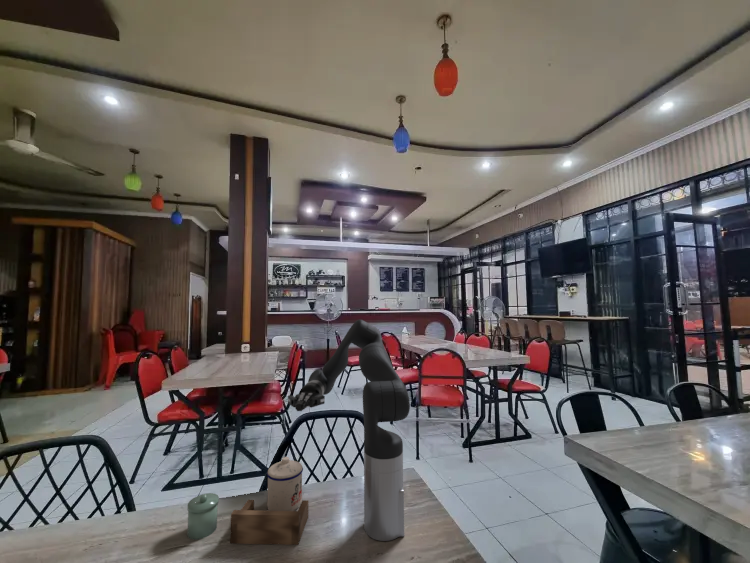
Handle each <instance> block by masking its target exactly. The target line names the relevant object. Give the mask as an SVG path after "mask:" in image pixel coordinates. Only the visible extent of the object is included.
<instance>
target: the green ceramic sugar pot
mask: <svg viewBox="0 0 750 563" xmlns="http://www.w3.org/2000/svg"><path fill="white" fill-rule="evenodd" d="M219 500H220V496H219V495H218V494H216V493H212V492H209V493H202V494H200V495H197V496H195V497H193V498H191V499H190V500H189V501H188V503H187V511H188V512H187V534H186V535H187V538H189V539H190V540H201V539H205V538H208V537H209V536H210V535H212V534H213V533H214V532H215V531H216V530H217V528H218V527H217V526H218V525H217V524H218V504H219V502H220V501H219ZM195 502H196V503H195Z"/></svg>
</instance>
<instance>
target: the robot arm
mask: <svg viewBox="0 0 750 563" xmlns="http://www.w3.org/2000/svg"><path fill="white" fill-rule="evenodd" d="M351 344H353V345H354V346H356V347H357V348H360V349H361V350H360V352H359V355H358V363H359V364H358V365H359V368H360V371H361V373H362V375H363V377H364V378H365V379H367V382H366V383H365V384H364V386H363V390H362V412H363V528H364V531H365V534H366V535H367V536H369V538H372V540H376V541H379V542H389V541H393V540H395V539H397V538H399V537H405V493H404V492H405V490H404V448H403V447H404V442H403V439H402V437H401V436H400V435H399V434H397V433H396V432H393V431H391V430H387V429H385V428H383V427H380V426H379V425H378V424H379V423H387V422H388V423H389V422H390V423H391V422H392V423H393V422H400V421H403V420H405V419H406V418H407V417H408V416H409V414H410V411H411V410H410V409H411V402H410V396H409V393H408V390H407V387H406V385H405V384H404V381H402V379H401V377H400V376H399V375H398V373H397V372H396V370H395V369H394V366H393V364H392V362H391V358H390V357H389V354H388V351H387V350H386V348H385V345H384V342H383V339H382V334H381V331H380V330H379V329H378V328H377V327H375V326H373V325H372V324H370V323H368V322H367V321H365V320H363V319H357V320H355V321H354V323H353V324H352V325H351V326H350V328H349V329H348V331H347V332H346V334H345V336H344V337H343V338H342V340H341V342H340V344H339V345H338V347H337V349H336V350H335V352H334V353H333V355H332V356H331V357H330V359H328V360H327V362H326V363H325V364H324V365H323V367H322V370H321V369H316V370H315V369H314V370H313V371H312V373H311V374H310V376H309V377H308V382H307V383H306V384H304V385H303V387H301V389H300V390H299V392H298V393H297V394H295V395H291V394H289V395H287V404H288V405H289V406H291V407H293V408H295V410H296V412H302V411H304V410H305V409H307V408H311V409H312V408H315V407H318V406H321V405H325V397H326V395H328V394H329V393H331V391H332V390H333V388H334V386H335V383H336V381H337V379H338V377H339V376H340V375H341V374H342V373H343V372H344V371H345V370H346V368H347V366H348V363H349V347H350V345H351Z"/></svg>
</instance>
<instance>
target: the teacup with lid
mask: <svg viewBox="0 0 750 563" xmlns="http://www.w3.org/2000/svg"><path fill="white" fill-rule="evenodd" d="M303 470H304V467H303V464H302V463H301V462H299V461H296V460H291V459H290V457H288V456H284V457H282V458H281V461H279V462H276V463H274V464H272V465H271V466H270V467H269V468H268V470H267V472H266V476H267V506H266V507H267V509H268V510H267V511H297V509H299V507H300V505H301V503H302V499H303Z"/></svg>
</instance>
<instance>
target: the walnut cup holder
mask: <svg viewBox="0 0 750 563" xmlns="http://www.w3.org/2000/svg"><path fill="white" fill-rule="evenodd" d="M309 502H310V500H302V502H301V505H300V506H299V507H298V510H295V511H269V510H256V509H255V499H247V500H246V502H245V504H244V505H243V506H242V508H241V509H234V510H233V511H232V512H231V514H230V533H229V534H230V535H229V536H230V537H229V544H237V545H239V544H240V545H241V544H245V545H249V544H250V545H283V546H284V545H287V546H288V545H290V546H292V545H294V546H296V545H297V546H298V545H299V544H300V541H301V538H302V536H303V533H304V531H305V528H306V525H307V523H308V519H309Z"/></svg>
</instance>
